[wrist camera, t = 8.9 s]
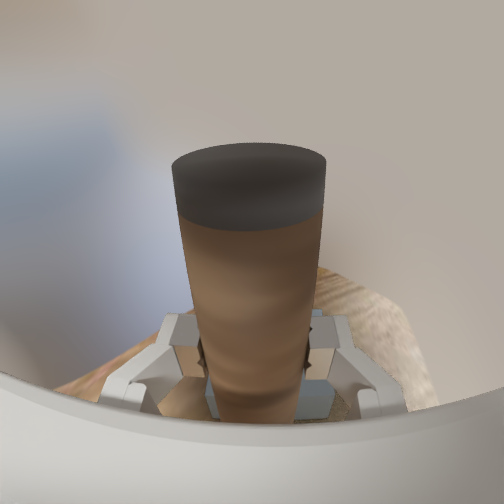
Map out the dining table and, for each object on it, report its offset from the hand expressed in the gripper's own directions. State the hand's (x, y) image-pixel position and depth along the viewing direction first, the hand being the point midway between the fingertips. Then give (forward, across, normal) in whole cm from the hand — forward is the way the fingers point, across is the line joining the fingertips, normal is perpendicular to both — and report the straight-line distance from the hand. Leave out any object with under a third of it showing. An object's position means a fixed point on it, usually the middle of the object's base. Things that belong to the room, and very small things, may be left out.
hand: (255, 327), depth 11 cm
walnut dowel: (-1, 0, +8) cm, 9 cm away
